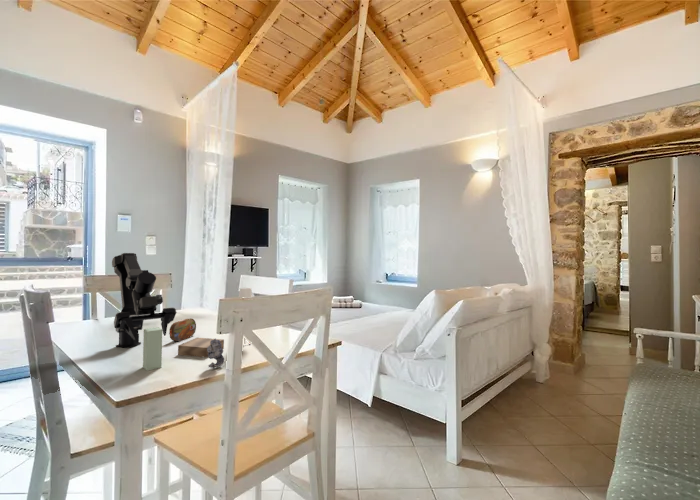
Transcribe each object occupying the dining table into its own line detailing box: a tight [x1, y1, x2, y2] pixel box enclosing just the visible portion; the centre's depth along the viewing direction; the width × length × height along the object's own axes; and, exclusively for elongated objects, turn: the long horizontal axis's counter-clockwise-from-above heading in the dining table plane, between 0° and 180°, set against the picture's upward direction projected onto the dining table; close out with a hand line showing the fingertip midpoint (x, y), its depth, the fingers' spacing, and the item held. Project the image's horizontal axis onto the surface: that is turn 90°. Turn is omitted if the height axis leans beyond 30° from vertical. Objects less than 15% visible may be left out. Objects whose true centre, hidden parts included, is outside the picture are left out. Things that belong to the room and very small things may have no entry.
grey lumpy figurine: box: [207, 338, 225, 369], centre depth 118 cm, size 5×5×10 cm
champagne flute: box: [238, 287, 253, 344], centre depth 148 cm, size 7×7×24 cm
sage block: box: [142, 326, 163, 372], centre depth 117 cm, size 4×4×13 cm
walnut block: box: [177, 337, 225, 358], centre depth 136 cm, size 12×12×4 cm
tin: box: [168, 318, 197, 342], centre depth 154 cm, size 15×3×8 cm, turn 168°
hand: (150, 337), depth 119 cm, fingers open, 9 cm apart
